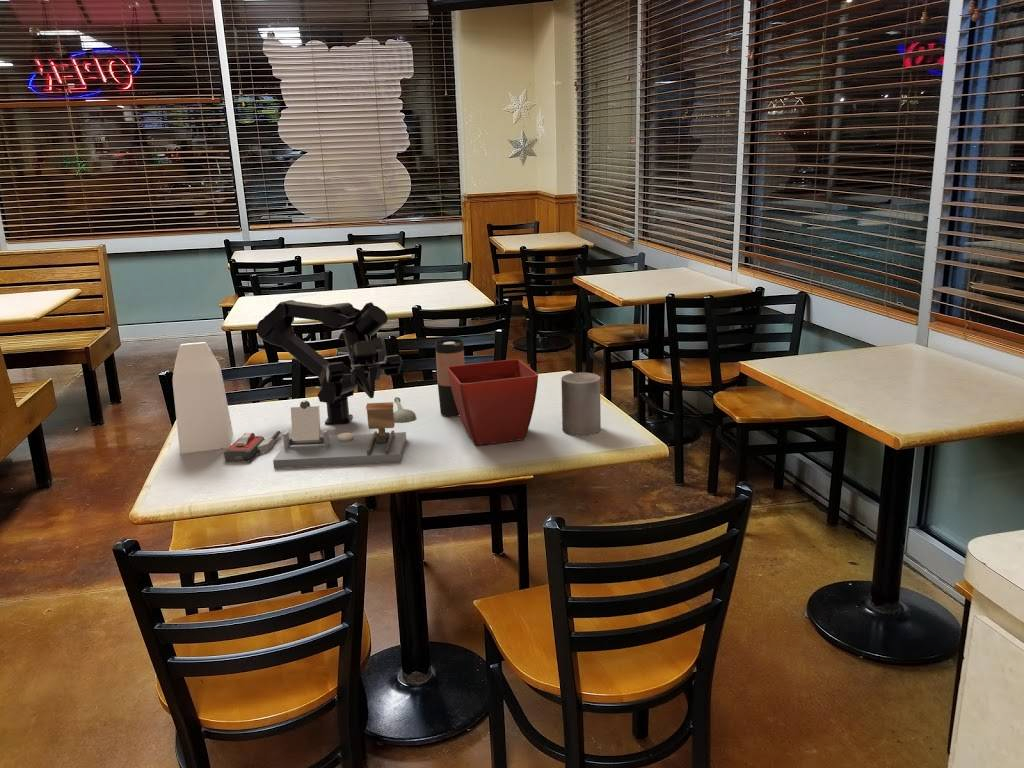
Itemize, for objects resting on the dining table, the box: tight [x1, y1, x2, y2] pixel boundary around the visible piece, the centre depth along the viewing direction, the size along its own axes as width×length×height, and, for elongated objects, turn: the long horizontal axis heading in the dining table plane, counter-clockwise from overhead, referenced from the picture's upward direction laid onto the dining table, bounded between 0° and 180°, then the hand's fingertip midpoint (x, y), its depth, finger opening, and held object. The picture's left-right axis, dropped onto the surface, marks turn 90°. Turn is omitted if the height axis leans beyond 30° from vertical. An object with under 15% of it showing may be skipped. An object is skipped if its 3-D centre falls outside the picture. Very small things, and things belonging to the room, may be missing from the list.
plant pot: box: [447, 358, 539, 446], centre depth 206 cm, size 19×19×17 cm
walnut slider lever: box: [365, 401, 395, 443], centre depth 201 cm, size 4×6×9 cm, turn 92°
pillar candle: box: [560, 372, 602, 437], centre depth 208 cm, size 10×10×15 cm
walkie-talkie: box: [223, 430, 282, 463], centre depth 206 cm, size 9×4×20 cm
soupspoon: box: [393, 396, 417, 424], centre depth 232 cm, size 22×3×7 cm
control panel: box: [272, 428, 407, 469], centre depth 200 cm, size 16×29×6 cm, turn 92°
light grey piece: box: [289, 400, 324, 445], centre depth 200 cm, size 2×8×11 cm, turn 92°
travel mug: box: [434, 338, 466, 418], centre depth 226 cm, size 8×8×20 cm
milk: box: [172, 341, 234, 454], centre depth 209 cm, size 12×12×26 cm
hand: (372, 397), depth 208 cm, fingers closed
